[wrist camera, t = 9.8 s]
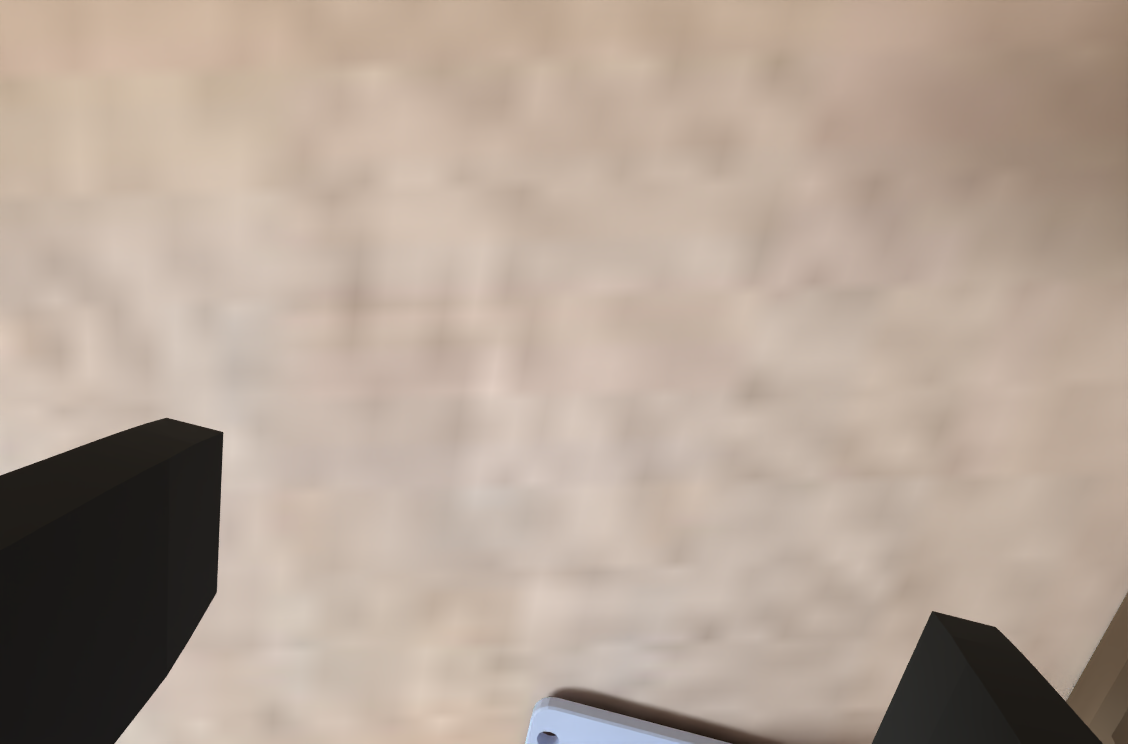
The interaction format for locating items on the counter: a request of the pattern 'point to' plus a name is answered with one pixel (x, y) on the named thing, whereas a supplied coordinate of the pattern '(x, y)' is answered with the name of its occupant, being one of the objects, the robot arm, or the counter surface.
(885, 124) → the counter surface
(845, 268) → the counter surface
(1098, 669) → the rack
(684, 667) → the counter surface
